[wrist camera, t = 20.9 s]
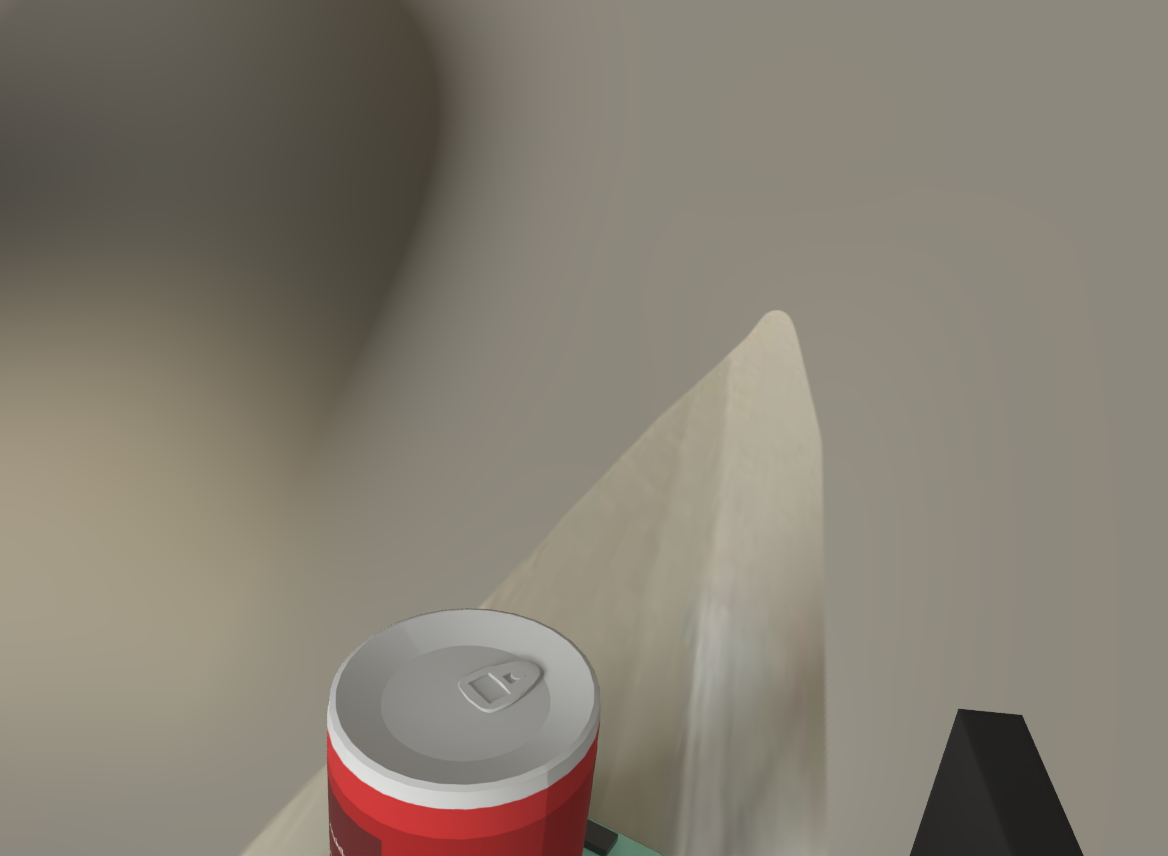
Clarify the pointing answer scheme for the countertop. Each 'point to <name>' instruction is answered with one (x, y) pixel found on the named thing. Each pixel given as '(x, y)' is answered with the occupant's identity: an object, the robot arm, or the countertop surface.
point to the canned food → (462, 739)
